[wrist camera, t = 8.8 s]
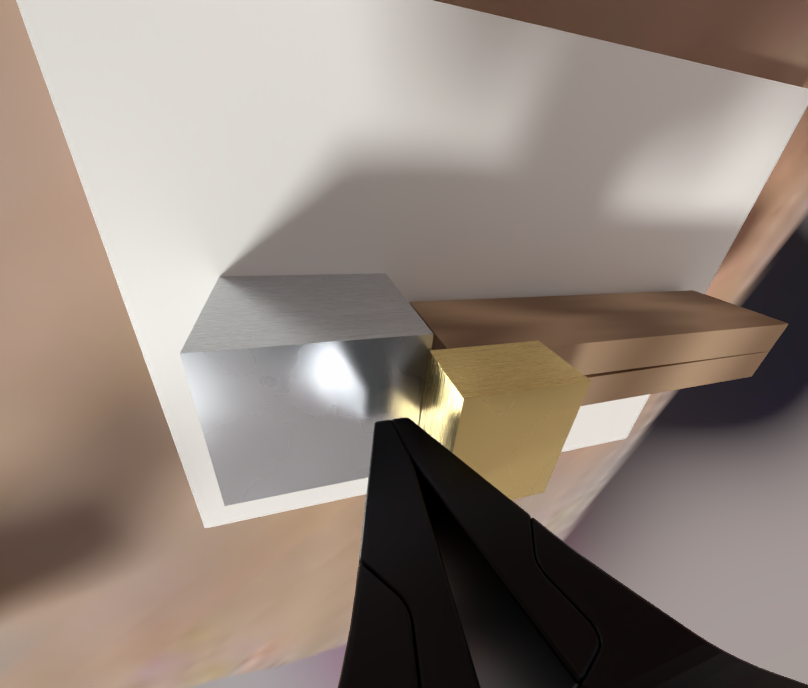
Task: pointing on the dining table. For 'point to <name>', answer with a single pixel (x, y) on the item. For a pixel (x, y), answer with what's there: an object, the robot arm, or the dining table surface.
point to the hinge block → (301, 377)
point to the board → (392, 165)
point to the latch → (503, 410)
